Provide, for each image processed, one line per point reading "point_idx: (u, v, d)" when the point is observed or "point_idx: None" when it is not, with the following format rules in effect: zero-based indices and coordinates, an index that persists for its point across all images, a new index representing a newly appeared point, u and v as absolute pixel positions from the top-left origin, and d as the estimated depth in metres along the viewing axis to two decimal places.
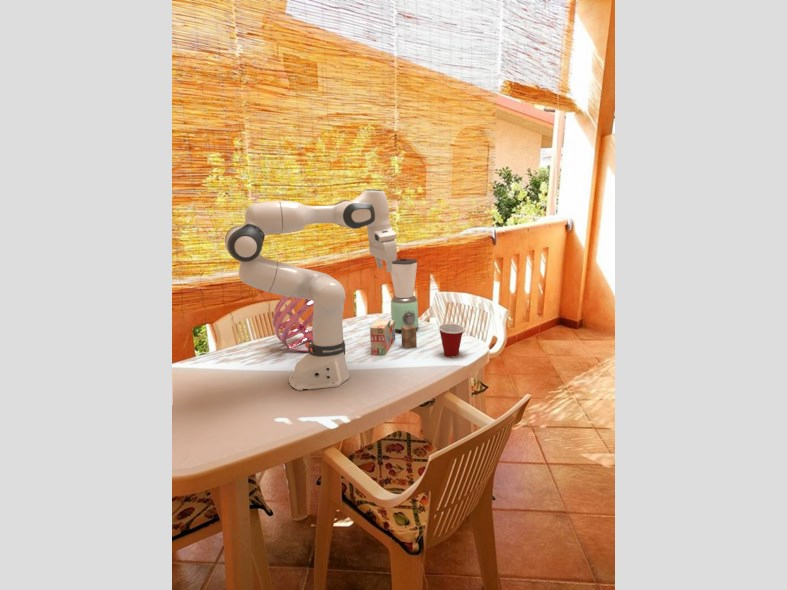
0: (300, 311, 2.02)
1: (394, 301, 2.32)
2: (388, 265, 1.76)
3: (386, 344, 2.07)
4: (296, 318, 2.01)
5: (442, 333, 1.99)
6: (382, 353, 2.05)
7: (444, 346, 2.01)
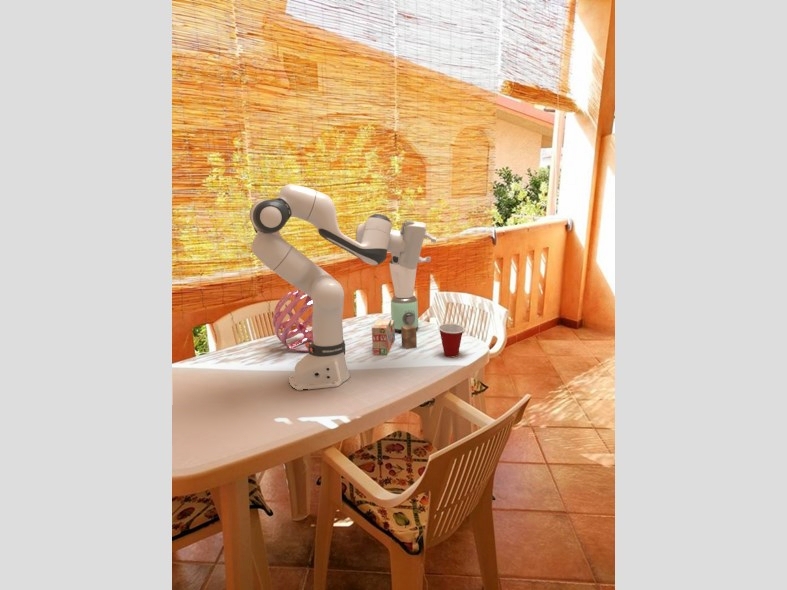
0: (300, 311, 2.02)
1: (394, 301, 2.32)
2: None
3: (388, 344, 2.08)
4: (296, 318, 2.01)
5: (442, 333, 1.99)
6: (384, 353, 2.06)
7: (444, 346, 2.01)
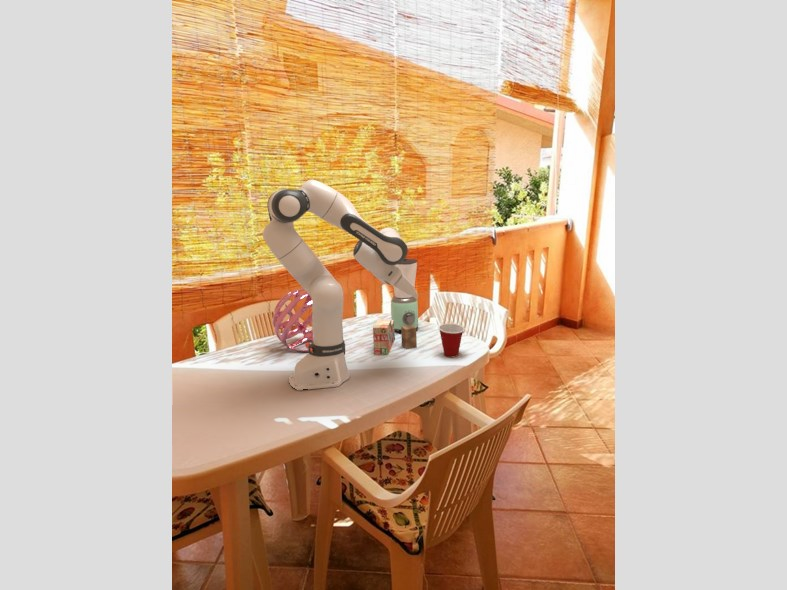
0: (300, 311, 2.02)
1: (394, 301, 2.32)
2: (412, 294, 1.85)
3: (388, 343, 2.08)
4: (296, 318, 2.01)
5: (442, 333, 1.99)
6: (385, 353, 2.06)
7: (444, 346, 2.01)
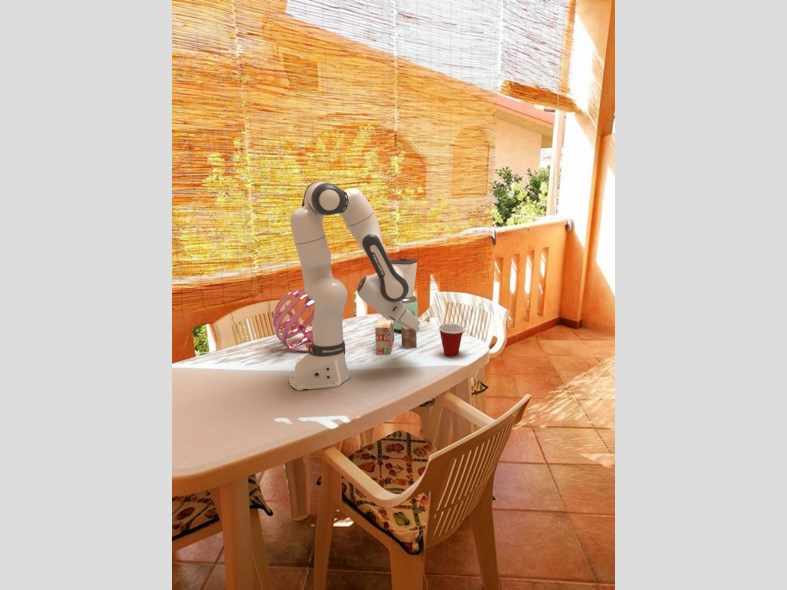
0: (300, 311, 2.02)
1: None
2: None
3: (390, 343, 2.08)
4: (296, 318, 2.01)
5: (442, 333, 1.99)
6: (387, 352, 2.06)
7: (444, 346, 2.01)
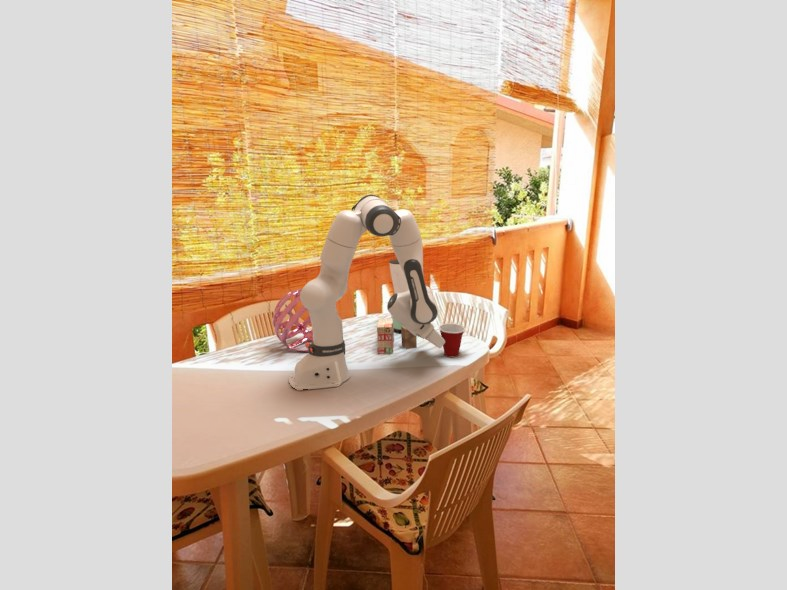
0: (300, 311, 2.02)
1: None
2: None
3: (392, 343, 2.09)
4: (296, 318, 2.01)
5: (442, 333, 1.99)
6: (389, 352, 2.07)
7: (444, 346, 2.01)
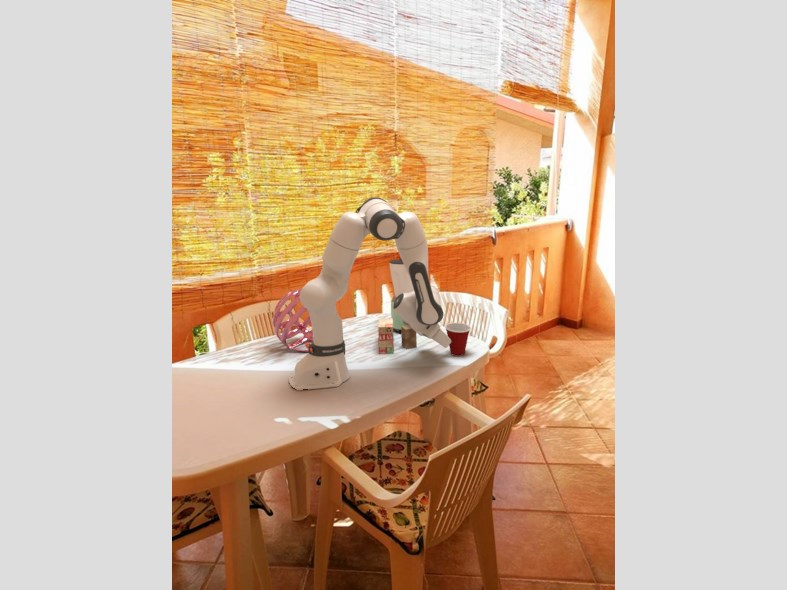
0: (300, 311, 2.02)
1: (394, 301, 2.32)
2: None
3: (393, 342, 2.09)
4: (296, 318, 2.01)
5: (448, 332, 2.00)
6: (390, 352, 2.07)
7: (450, 345, 2.02)
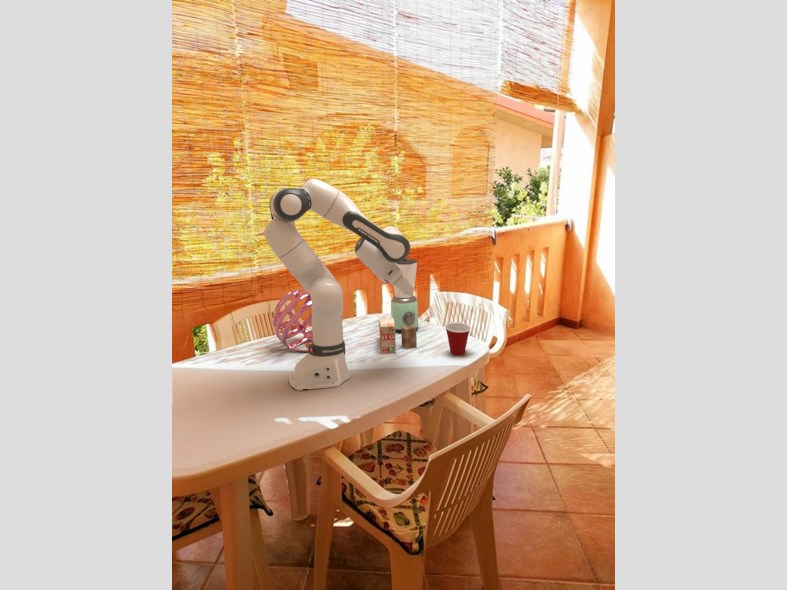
0: (300, 311, 2.02)
1: (394, 301, 2.32)
2: None
3: None
4: (296, 318, 2.01)
5: (448, 332, 2.00)
6: (393, 351, 2.07)
7: (450, 345, 2.02)
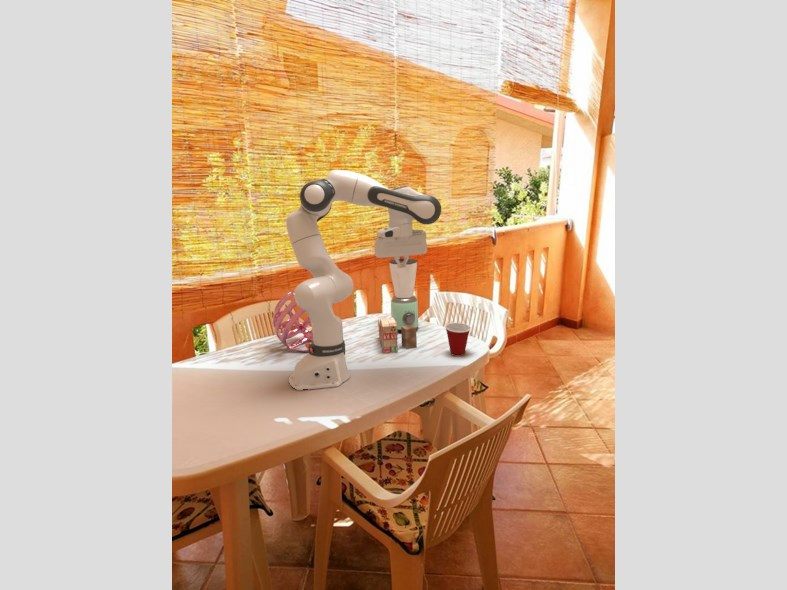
0: (300, 311, 2.02)
1: (394, 301, 2.32)
2: (395, 260, 1.84)
3: None
4: (296, 318, 2.01)
5: (448, 332, 2.00)
6: (394, 350, 2.08)
7: (450, 345, 2.02)
